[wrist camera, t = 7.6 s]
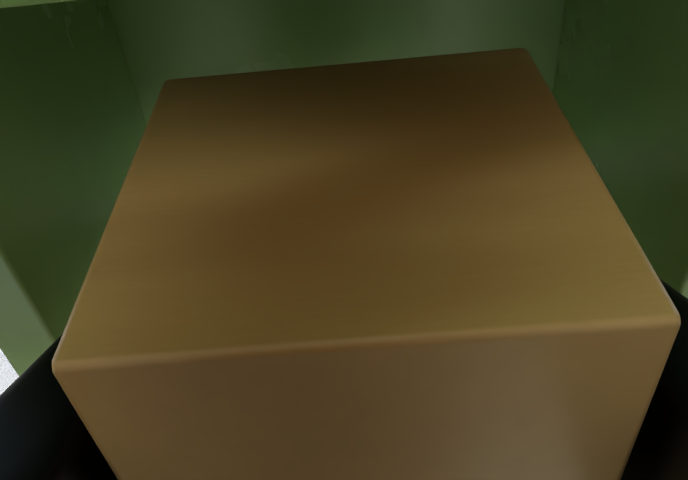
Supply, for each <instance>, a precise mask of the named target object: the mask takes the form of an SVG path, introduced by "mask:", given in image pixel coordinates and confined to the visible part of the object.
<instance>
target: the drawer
mask: <svg viewBox="0 0 688 480" xmlns="http://www.w3.org/2000/svg"><path fill="white" fill-rule="evenodd" d="M514 48H524V49H527V51H528V52H529V54H530V56H531V58H532V59H533V61H534V63H535V65H536V66H537V68H538V70H539V71H540V73H541V75H542V77H543V78H544V80H545V82H546V84H547V85H548V87H549V89H550V91H551V92H552V94H553V96H554V97H555V99H556V101H557V103H558V104H559V106H560V108H561V110H562V111H563V113H564V115H565V117H566V118H567V120H568V122H569V123H570V125H571V127H572V129H573V130H574V132H575V134H576V136H577V137H578V139H579V141H580V142H581V144H582V146H583V148H584V149H585V151H586V153H587V155H588V156H589V158H590V160H591V162H592V163H593V165H594V167H595V168H596V170H597V172H598V174H599V175H600V177H601V179H602V181H603V182H604V184H605V186H606V187H607V189H608V191H609V193H610V194H611V196H612V198H613V200H614V201H615V203H616V205H617V207H618V208H619V210H620V212H621V213H622V215H623V217H624V219H625V220H626V222H627V224H628V226H629V227H630V229H631V231H632V232H633V234H634V236H635V238H636V239H637V241H638V243H639V245H640V246H641V248H642V250H643V252H644V253H645V255H646V257H647V258H648V260H649V262H650V264H651V265H652V267H653V269H654V271H655V272H656V274H657V276H658V277H659V278H660V279H661V280H663V281H664V282H665V283H667V284H668V285H670V286H671V287H672V288H674V289H675V290H677V291H678V292H679V293H681V294H682V295H683V296H685V297H686V298H688V0H81V1H70V2H60V3H50V4H39V5H29V6H19V7H8V8H0V349H1V350H2V352H3V353H4V355H5V356H6V357H7V359H8V360H9V362H10V363H11V365H12V366H13V368H14V369H15V371H16V372H17V374H18V375H19V376H20V375H21V374H22V373H23V372H24V371H25V370H26V369H27V368H28V367H29V366H30V365H31V364H32V363H33V362H34V361H35V360H36V359H37V358H38V357H39V356H41V355H42V354H43V353H44V352H45V351H46V350H47V349H48V348H49V347H50V346H51V345H52V344H53V343H54V342H55V341H56V340H57V339H58V338H59V337H60V336H61V335H62V334H63V332H64V330H65V327H66V325H67V322H68V320H69V317H70V315H71V312H72V310H73V307H74V305H75V302H76V300H77V297H78V295H79V292H80V290H81V287H82V285H83V282H84V280H85V277H86V275H87V272H88V270H89V267H90V265H91V262H92V260H93V257H94V255H95V253H96V250H97V248H98V245H99V243H100V240H101V238H102V235H103V233H104V230H105V228H106V225H107V223H108V220H109V218H110V215H111V213H112V210H113V208H114V205H115V203H116V200H117V198H118V195H119V193H120V190H121V188H122V185H123V183H124V180H125V178H126V176H127V173H128V171H129V168H130V166H131V163H132V161H133V158H134V156H135V153H136V151H137V148H138V146H139V143H140V141H141V138H142V136H143V133H144V131H145V128H146V126H147V123H148V121H149V118H150V116H151V113H152V111H153V108H154V106H155V103H156V101H157V98H158V96H159V94H160V91H161V89H162V86H163V84H164V82H165V81H167V80H169V79H180V78H191V77H202V76H213V75H224V74H235V73H246V72H257V71H269V70H280V69H291V68H302V67H313V66H324V65H335V64H347V63H358V62H369V61H380V60H391V59H402V58H413V57H424V56H436V55H447V54H458V53H469V52H480V51H491V50H502V49H514Z"/></svg>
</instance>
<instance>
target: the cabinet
mask: <svg viewBox="0 0 688 480" xmlns="http://www.w3.org/2000/svg"><path fill="white" fill-rule="evenodd" d="M70 1H81V0H0V8H8V7H19V6H29V5H39V4H50V3H60V2H70Z"/></svg>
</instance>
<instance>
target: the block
mask: <svg viewBox="0 0 688 480" xmlns="http://www.w3.org/2000/svg"><path fill="white" fill-rule="evenodd" d="M680 325H681V319H680V315H679V312H678V310H677V309H676V307H675V305H674V303H673V302H672V300H671V298H670V297H669V295H668V293H667V291H666V290H665V288H664V286H663V284H662V283H661V281H660V279H659V278H658V276H657V274H656V272H655V271H654V269H653V267H652V265H651V264H650V262H649V260H648V258H647V257H646V255H645V253H644V252H643V250H642V248H641V246H640V245H639V243H638V241H637V239H636V238H635V236H634V234H633V232H632V231H631V229H630V227H629V226H628V224H627V222H626V220H625V219H624V217H623V215H622V213H621V212H620V210H619V208H618V207H617V205H616V203H615V201H614V200H613V198H612V196H611V194H610V193H609V191H608V189H607V187H606V186H605V184H604V182H603V181H602V179H601V177H600V175H599V174H598V172H597V170H596V168H595V167H594V165H593V163H592V162H591V160H590V158H589V156H588V155H587V153H586V151H585V149H584V148H583V146H582V144H581V142H580V141H579V139H578V137H577V136H576V134H575V132H574V130H573V129H572V127H571V125H570V123H569V122H568V120H567V118H566V117H565V115H564V113H563V111H562V110H561V108H560V106H559V104H558V103H557V101H556V99H555V97H554V96H553V94H552V92H551V91H550V89H549V87H548V85H547V84H546V82H545V80H544V78H543V77H542V75H541V73H540V71H539V70H538V68H537V66H536V65H535V63H534V61H533V59H532V58H531V56H530V54H529V52H528V51H527V49H524V48H514V49H502V50H491V51H480V52H469V53H458V54H447V55H436V56H424V57H413V58H402V59H391V60H380V61H369V62H358V63H347V64H335V65H324V66H313V67H302V68H291V69H280V70H269V71H257V72H246V73H235V74H224V75H213V76H202V77H191V78H180V79H169V80H167V81H165V82H164V84H163V86H162V89H161V91H160V94H159V96H158V98H157V101H156V103H155V106H154V108H153V111H152V113H151V116H150V118H149V121H148V123H147V126H146V128H145V131H144V133H143V136H142V138H141V141H140V143H139V146H138V148H137V151H136V153H135V156H134V158H133V161H132V163H131V166H130V168H129V171H128V173H127V176H126V178H125V180H124V183H123V185H122V188H121V190H120V193H119V195H118V198H117V200H116V203H115V205H114V208H113V210H112V213H111V215H110V218H109V220H108V223H107V225H106V228H105V230H104V233H103V235H102V238H101V240H100V243H99V245H98V248H97V250H96V253H95V255H94V257H93V260H92V262H91V265H90V267H89V270H88V272H87V275H86V277H85V280H84V282H83V285H82V287H81V290H80V292H79V295H78V297H77V300H76V302H75V305H74V307H73V310H72V312H71V315H70V317H69V320H68V322H67V325H66V327H65V330H64V332H63V335H62V337H61V339H60V342H59V344H58V347H57V349H56V352H55V354H54V357H53V359H52V373H53V374H54V376H55V377H56V379H57V381H58V382H59V384H60V386H61V387H62V389H63V391H64V392H65V394H66V395H67V397H68V399H69V400H70V402H71V404H72V405H73V407H74V409H75V410H76V412H77V413H78V415H79V417H80V418H81V420H82V422H83V423H84V425H85V427H86V428H87V430H88V431H89V433H90V435H91V436H92V438H93V440H94V441H95V443H96V445H97V446H98V448H99V449H100V451H101V453H102V454H103V456H104V458H105V459H106V461H107V463H108V464H109V466H110V467H111V469H112V471H113V472H114V474H115V476H116V477H117V479H118V480H621V477H622V474H623V472H624V469H625V467H626V464H627V462H628V459H629V456H630V454H631V451H632V449H633V446H634V444H635V441H636V438H637V436H638V433H639V431H640V428H641V426H642V423H643V420H644V418H645V415H646V413H647V410H648V408H649V405H650V402H651V400H652V397H653V395H654V392H655V390H656V387H657V384H658V382H659V379H660V377H661V374H662V372H663V369H664V366H665V364H666V361H667V359H668V356H669V354H670V351H671V349H672V346H673V343H674V341H675V338H676V336H677V333H678V331H679V328H680Z"/></svg>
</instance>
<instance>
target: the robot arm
mask: <svg viewBox="0 0 688 480" xmlns="http://www.w3.org/2000/svg"><path fill="white" fill-rule="evenodd" d="M658 278H659V277H658ZM659 279H660V278H659ZM660 281H661V283H662V284H663V286H664V288H665V290H666V291H667V293H668V295H669V297H670V298H671V300H672V302H673V303H674V305H675V307H676V309H677V310H678V312H679V315H680V319H681V325H680V328H679V331H678V333H677V336H676V338H675V341H674V343H673V346H672V349H671V351H670V354H669V356H668V359H667V361H666V364H665V366H664V369H663V372H662V374H661V377H660V379H659V382H658V384H657V387H656V390H655V392H654V395H653V397H652V400H651V402H650V405H649V408H648V410H647V413H646V415H645V418H644V420H643V423H642V426H641V428H640V431H639V433H638V436H637V438H636V441H635V444H634V446H633V449H632V451H631V454H630V456H629V459H628V462H627V464H626V467H625V469H624V472H623V474H622V477H621V480H688V298H686V297H685V296H683V295H682V294H681V293H679V292H678V291H677V290H675V289H674V288H672V287H671V286H670V285H668V284H667V283H665V282H664V281H663V280H661V279H660ZM62 335H63V334H62ZM62 335H61V336H60V337H59V338H58V339H57V340H56V341H55V342H54V343H53V344H52V345H51V346H50V347H49V348H48V349H47V350H46V351H45V352H44V353H43V354H42V355H41V356H39V357H38V358H37V359H36V360H35V361H34V362H33V363H32V364H31V365H30V366H29V367H28V368H27V369H26V370H25V371H24V372H23V373H22V374H21V375H20V376H19V377H18V378H17V379H16V380H15V381H14V382H13V383H12V384H11V385H10V386H9V387H8V388H7V389H6V390H5V391H4V392H3V393H2V394H1V395H0V480H118V479H117V477H116V476H115V474H114V472H113V471H112V469H111V467H110V466H109V464H108V463H107V461H106V459H105V458H104V456H103V454H102V453H101V451H100V449H99V448H98V446H97V445H96V443H95V441H94V440H93V438H92V436H91V435H90V433H89V431H88V430H87V428H86V427H85V425H84V423H83V422H82V420H81V418H80V417H79V415H78V413H77V412H76V410H75V409H74V407H73V405H72V404H71V402H70V400H69V399H68V397H67V395H66V394H65V392H64V391H63V389H62V387H61V386H60V384H59V382H58V381H57V379H56V377H55V376H54V374H53V373H52V359H53V357H54V354H55V352H56V349H57V347H58V344H59V342H60V339H61V337H62Z"/></svg>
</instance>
